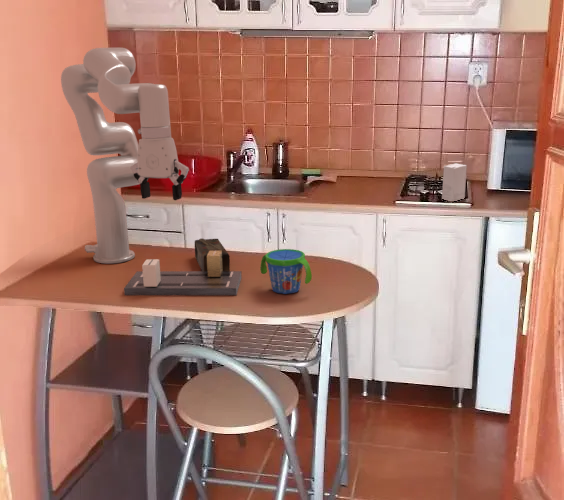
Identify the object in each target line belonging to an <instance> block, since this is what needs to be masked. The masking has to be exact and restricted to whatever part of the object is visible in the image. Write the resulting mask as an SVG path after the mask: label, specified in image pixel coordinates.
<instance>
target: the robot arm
mask: <svg viewBox="0 0 564 500" xmlns="http://www.w3.org/2000/svg"><path fill="white" fill-rule="evenodd" d="M82 61H83V62H82V63H80V64H73V65H69V66H66V67H65V68H64V69H63V70H62V72H61V76H60V83H61V90H62V92H63V95H64V98H65V100H66V101H67V104H68V105H69V106H70V108H71V110H72V112H73V114H74V116H75V117H74V118H75V120H76V124H77V127H78V130H79V133H80V138H81V141H82V144H83V146H84V149H85V152H87V154H89V155H90V156H105V157H101V158H100V157H99V158H96V159H94V160H92V161H90V162H89V163H88V165H87V167H86V175H87V176H86V177H87V179H88V180H87V181H88V183H89V187H90V192H91V196H92V197H91V198H92V204H93V213H94V221H95V222H94V223H95V224H94V225H95V233H96V243H95V244H94V245H92V244H87V245H84V251H85V252H86V253H88V254H90V253H91V254H92V253H94V255H93V261H94V262H96V263H99V264H100V263H101V264H105V265H106V264H112V265H113V264H121V263H124V262H125V263H126V262H128V261H132V259H134V258H135V256H136V254H135V252H134V250H131V249H130V245H129V244H130V243H129V235H128V234H129V232H128V220H127V209H126V208H127V207H126V201H125V200H124V197H122V195H121V194H120V193H119V192H118V191H117V189H121V188H125V187H132V186H137V185H139V186H140V194H141V199H143V200H144V199H145V200H146V199H148V198H150V197H151V186H150V182H149V181H148V180H149V179H169V180H170V181H171V182H172V183H173V184H172V185H171V187H172V188H171V189H172V200H173V201H178V200H180V199H182V196H183V191H182V188H183V187H182V184H183V183H184V181H185V180H186V178H187V177H188V174H189V171H190V168H189V166H187V165H185V164H184V163H181V162H180V161H179V158H178V151H177V147H176V144H175V143H176V142H175V140H174V138H173V137H172V129H171V128H172V127H171V118H170V117H171V116H170V104H169V103H170V102H169V91H168V88H167V85H165V84H160V83H159V84H157V83H155V84H154V83H152V82H151V83H150V82H142V83H141V82H140V83H139V82H138V83H131V78H132V77H133V75H134V73H135V72H136V66H137V65H136V59H135V56H134V54H133V53H132V51H130V50H129V49H128V48H125V47H96V48H92V49H90V50H88V51H87V52H86V53H85V54H84V55H83V59H82ZM92 93H97V94H98V97H99V101H100V102H101V103H102V104H103V106H105V107H106V108H107V109H108V110H109V111H110V112H112V113H114V114H116V115H124V114H125V115H126V114H136V113H139V119H140V128H138V129H137V133H138V134H139V135H141V136H140V137H141V138H140V139H139V140H138V139H137V136H136V133H135V131H134V129H133V127H132V126H131V125H130V124H129V123H127V122H123V121H116V122H108V121H107V119H106V117H105V112H104V109H103V107H102V106H101V105H100V104H99V103H98V102H97V100H96V99H94V98H93V97H91V96H90V95H89V94H92ZM115 154H116V155H117V154H119V155H117V156H108V155H115ZM106 155H107V156H108V157H106ZM180 171H181V172H180ZM179 172H180V174H179Z"/></svg>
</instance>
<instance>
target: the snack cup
mask: <svg viewBox="0 0 564 500" xmlns="http://www.w3.org/2000/svg"><path fill="white" fill-rule="evenodd" d="M303 266H304V267H303ZM303 268H304V270H305V279H304V284H306V285H307V284H309V283H310V282H311V280H312V276H313V275H312V270H311V266H310V263H309V262H308V260H307V258H306V253H304V252H303V251H302V250H299V249H291V248H283V249H281V248H280V249H274V250H271V251H268V252H267V253H266V254H264V255H263V256H262V258H261V261H260V274H262V275H265V274H267V273H268V275H269V280H270V285H271V289H272V291H273V292H274V293H277V294H284V295H288V294H294V293H298V292H299V290H300V288H301V282H302V275H303Z"/></svg>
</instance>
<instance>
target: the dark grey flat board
mask: <svg viewBox="0 0 564 500" xmlns="http://www.w3.org/2000/svg"><path fill="white" fill-rule="evenodd" d="M160 276H161V281H160V282H159V284H158V286H157V287H144V282H143V270H142V271H136V272H135V273H134V274H133V276H132V277H131V278H130V280H128V282H127V284H125V286H124V288H123V293H124V296H237V294H238V291H239V288H240V284H241V281H242V271H239V270H237V271H234V270H230V271H222V274H221V276H220V277H208V271H202V270H199V271H198V270H197V271H195V270H193V271H187V270H183V271H182V270H180V271H178V270H177V271H176V270H175V271H172V270H171V271H170V270H169V271H167V270H166V271H161V270H160Z"/></svg>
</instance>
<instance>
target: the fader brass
mask: <svg viewBox="0 0 564 500" xmlns="http://www.w3.org/2000/svg"><path fill="white" fill-rule="evenodd" d="M207 270H208V277H220V276H221V274H222V271H223V268H222V251H209V253H208V255H207Z"/></svg>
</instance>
